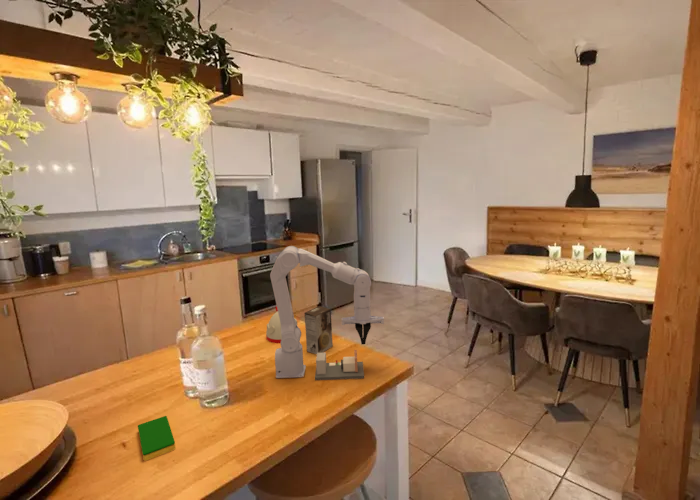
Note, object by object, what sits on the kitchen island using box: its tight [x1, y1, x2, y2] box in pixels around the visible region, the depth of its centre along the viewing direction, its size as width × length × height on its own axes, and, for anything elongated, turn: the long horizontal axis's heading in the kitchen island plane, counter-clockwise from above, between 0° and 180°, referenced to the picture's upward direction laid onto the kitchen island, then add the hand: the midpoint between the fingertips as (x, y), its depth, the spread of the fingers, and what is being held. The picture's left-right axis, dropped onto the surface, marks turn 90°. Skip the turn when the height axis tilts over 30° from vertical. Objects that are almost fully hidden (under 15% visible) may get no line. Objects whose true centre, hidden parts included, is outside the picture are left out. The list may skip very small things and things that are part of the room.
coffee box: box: [304, 305, 334, 355], centre depth 146 cm, size 9×6×16 cm
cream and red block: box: [340, 349, 358, 372], centre depth 129 cm, size 6×8×5 cm
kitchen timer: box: [265, 306, 298, 344], centre depth 160 cm, size 14×14×15 cm
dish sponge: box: [137, 415, 176, 462], centre depth 97 cm, size 7×14×2 cm, turn 34°
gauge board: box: [314, 351, 365, 381], centre depth 129 cm, size 16×10×6 cm, turn 91°
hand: (363, 343), depth 130 cm, fingers closed
